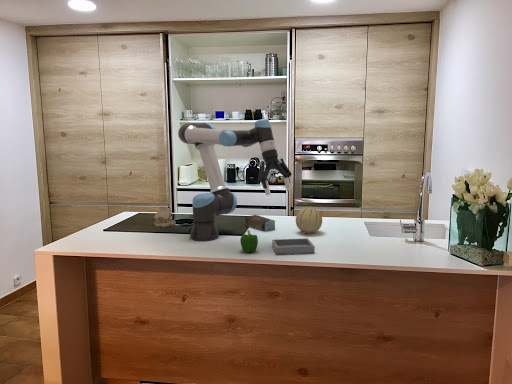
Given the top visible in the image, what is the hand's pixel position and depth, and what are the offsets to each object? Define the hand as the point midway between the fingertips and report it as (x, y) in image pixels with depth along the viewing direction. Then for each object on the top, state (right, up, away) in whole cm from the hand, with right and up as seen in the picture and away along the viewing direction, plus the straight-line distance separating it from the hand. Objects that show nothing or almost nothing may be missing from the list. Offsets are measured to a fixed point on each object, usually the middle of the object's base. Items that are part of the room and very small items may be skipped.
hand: (279, 192), depth 199 cm
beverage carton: (-9, -21, +43) cm, 49 cm away
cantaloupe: (+18, -23, +31) cm, 42 cm away
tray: (+7, -27, -1) cm, 28 cm away
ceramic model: (-67, -20, +53) cm, 88 cm away
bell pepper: (-14, -28, -3) cm, 32 cm away
